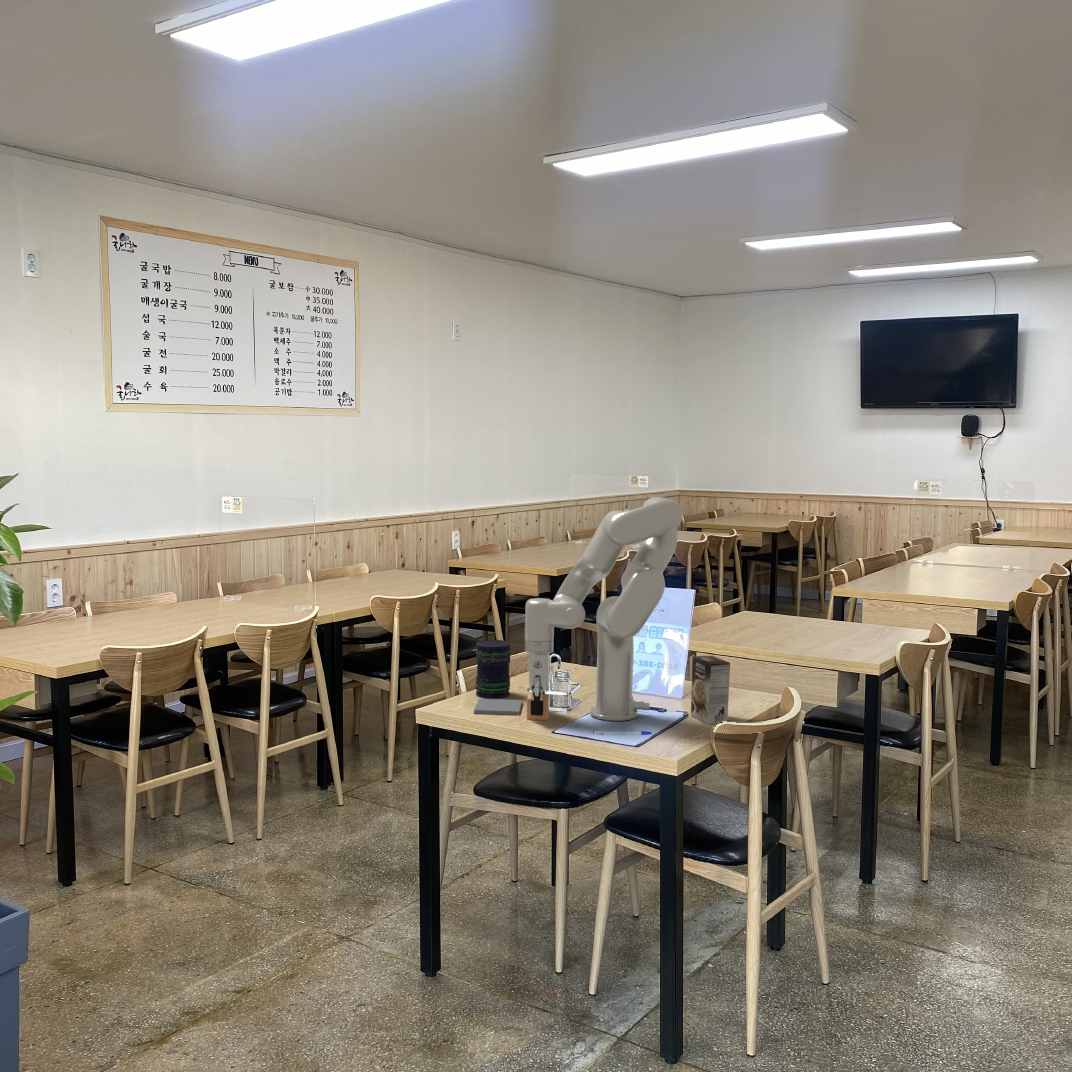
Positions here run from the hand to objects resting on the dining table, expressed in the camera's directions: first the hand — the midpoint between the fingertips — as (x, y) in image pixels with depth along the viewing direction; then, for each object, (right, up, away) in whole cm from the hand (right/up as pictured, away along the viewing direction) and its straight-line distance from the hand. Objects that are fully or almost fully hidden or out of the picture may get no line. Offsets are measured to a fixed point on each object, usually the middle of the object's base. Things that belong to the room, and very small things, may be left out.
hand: (537, 710), depth 261 cm
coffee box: (+45, -3, +1) cm, 45 cm away
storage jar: (-13, 0, +23) cm, 26 cm away
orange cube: (0, -2, 0) cm, 2 cm away
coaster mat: (-11, -1, +8) cm, 13 cm away
